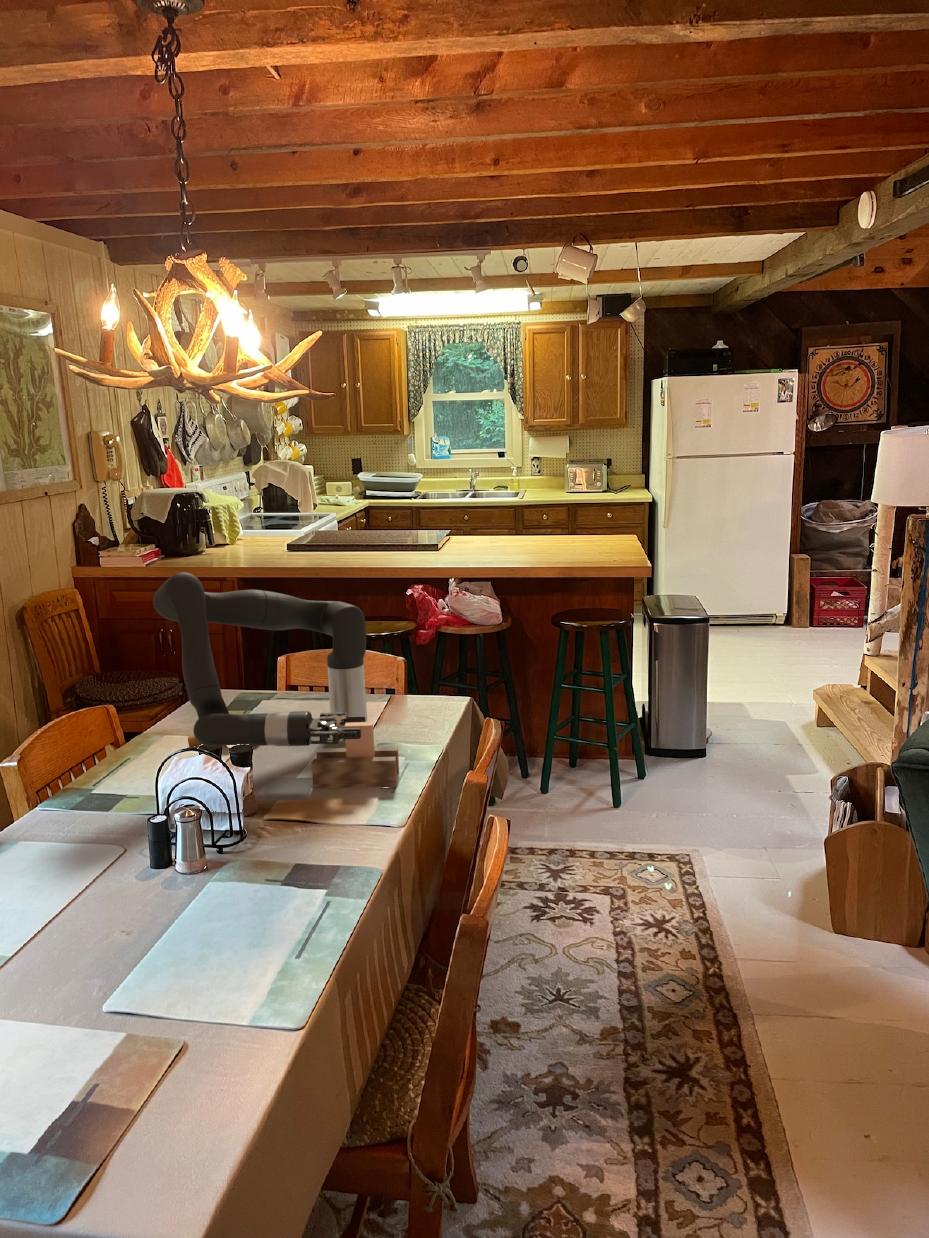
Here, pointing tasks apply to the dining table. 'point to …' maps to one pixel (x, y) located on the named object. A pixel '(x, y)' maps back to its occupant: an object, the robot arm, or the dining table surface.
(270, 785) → the mat
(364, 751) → the block
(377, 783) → the rack
